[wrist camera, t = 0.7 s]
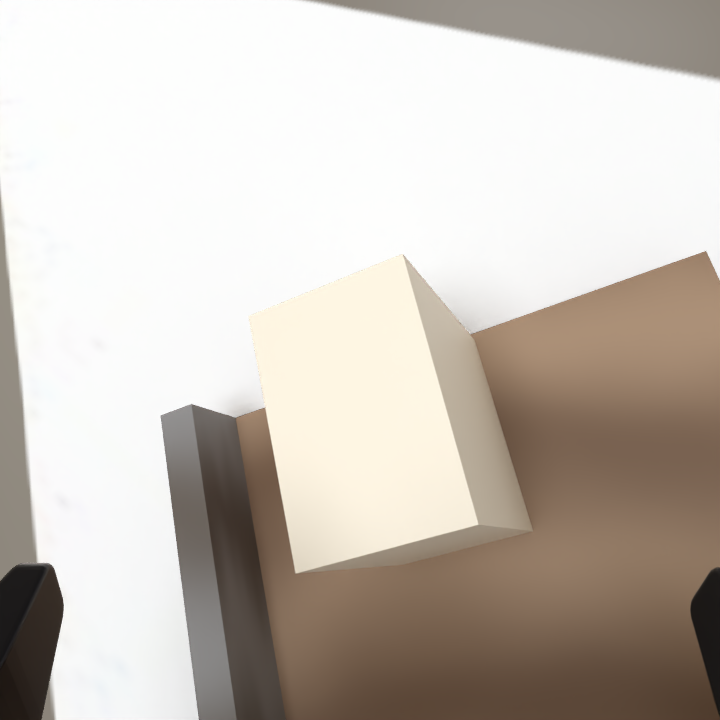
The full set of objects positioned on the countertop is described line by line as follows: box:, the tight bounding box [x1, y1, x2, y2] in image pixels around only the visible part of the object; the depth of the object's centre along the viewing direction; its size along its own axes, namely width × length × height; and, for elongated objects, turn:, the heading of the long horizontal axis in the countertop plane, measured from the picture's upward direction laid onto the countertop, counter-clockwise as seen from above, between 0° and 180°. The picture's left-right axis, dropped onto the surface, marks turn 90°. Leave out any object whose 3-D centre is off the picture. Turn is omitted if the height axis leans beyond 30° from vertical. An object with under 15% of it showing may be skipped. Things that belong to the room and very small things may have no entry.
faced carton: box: [249, 254, 533, 573], centre depth 18 cm, size 4×6×7 cm
